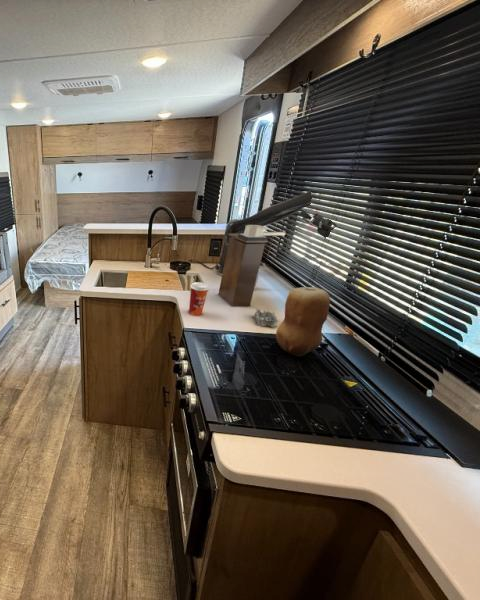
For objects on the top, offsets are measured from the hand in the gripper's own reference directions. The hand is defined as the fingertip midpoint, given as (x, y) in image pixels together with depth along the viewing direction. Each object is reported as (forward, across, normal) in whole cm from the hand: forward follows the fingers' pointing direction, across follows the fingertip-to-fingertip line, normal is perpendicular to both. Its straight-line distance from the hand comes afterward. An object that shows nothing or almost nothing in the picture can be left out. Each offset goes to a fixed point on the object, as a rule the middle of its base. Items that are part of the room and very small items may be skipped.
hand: (307, 213), depth 139 cm
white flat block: (+14, +5, +18) cm, 23 cm away
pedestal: (+2, +1, +50) cm, 50 cm away
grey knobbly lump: (0, +24, +49) cm, 54 cm away
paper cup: (+23, +15, +62) cm, 68 cm away
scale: (+18, +5, +22) cm, 29 cm away
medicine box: (-11, -15, +42) cm, 46 cm away
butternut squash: (+3, +48, +50) cm, 70 cm away
